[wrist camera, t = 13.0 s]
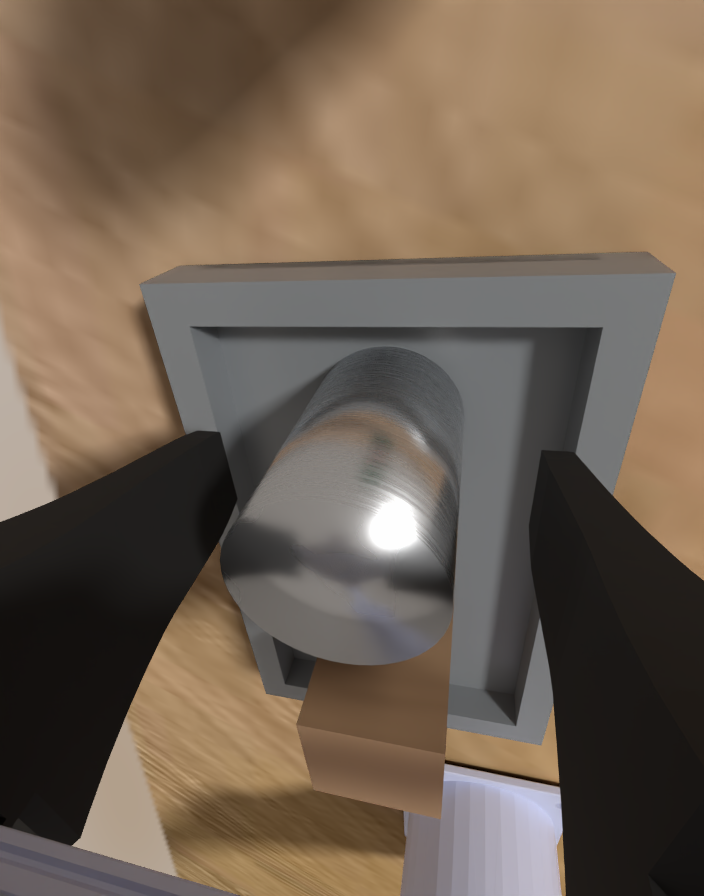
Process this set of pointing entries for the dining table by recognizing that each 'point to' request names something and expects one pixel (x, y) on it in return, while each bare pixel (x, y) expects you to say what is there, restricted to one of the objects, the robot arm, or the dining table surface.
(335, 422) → the steel cylinder
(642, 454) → the dining table surface
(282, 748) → the dining table surface
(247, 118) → the dining table surface
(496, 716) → the tray
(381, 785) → the walnut block
